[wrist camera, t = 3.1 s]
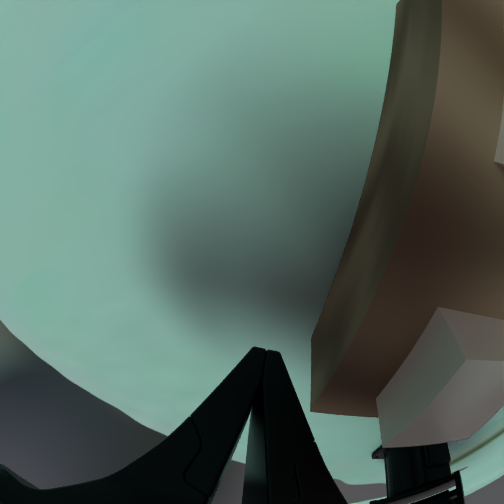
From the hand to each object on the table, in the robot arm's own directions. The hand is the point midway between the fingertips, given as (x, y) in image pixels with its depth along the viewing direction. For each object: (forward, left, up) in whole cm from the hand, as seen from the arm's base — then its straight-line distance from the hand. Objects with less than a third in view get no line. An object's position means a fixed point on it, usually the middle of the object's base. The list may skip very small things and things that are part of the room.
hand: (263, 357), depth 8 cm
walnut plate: (+5, -8, -6) cm, 11 cm away
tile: (0, -8, -1) cm, 8 cm away
